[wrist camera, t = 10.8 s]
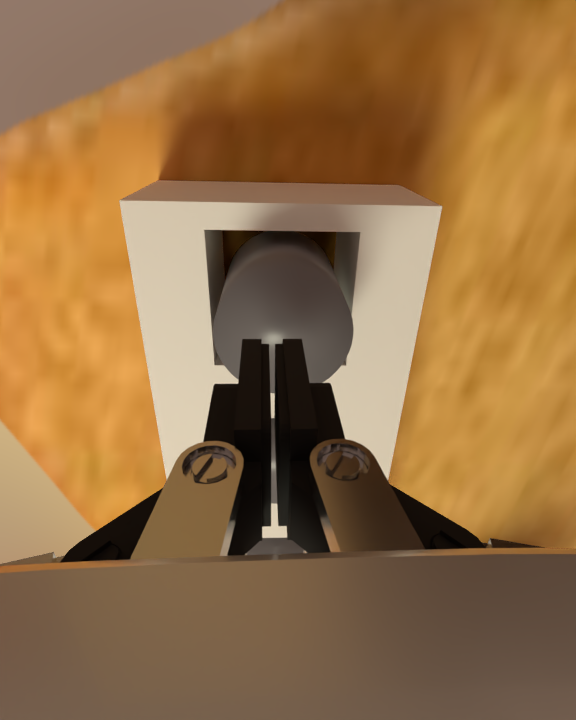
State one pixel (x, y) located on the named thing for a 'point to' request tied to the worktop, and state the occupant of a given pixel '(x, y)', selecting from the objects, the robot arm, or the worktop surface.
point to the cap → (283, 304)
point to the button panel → (207, 278)
